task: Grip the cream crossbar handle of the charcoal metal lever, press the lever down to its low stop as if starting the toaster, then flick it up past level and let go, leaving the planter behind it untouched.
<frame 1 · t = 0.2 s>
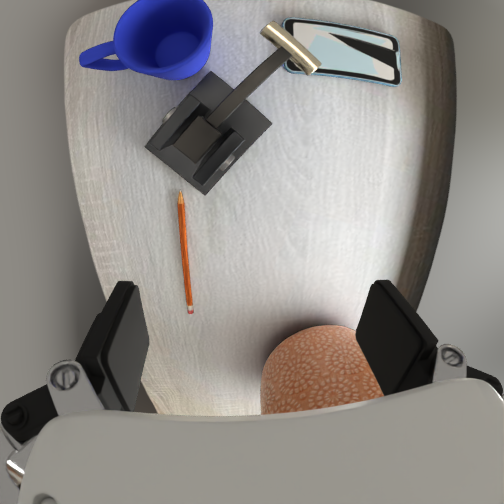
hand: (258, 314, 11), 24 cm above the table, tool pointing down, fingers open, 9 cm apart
smartphone: (344, 51, 25), on the table
pencil: (185, 255, 36), on the table
lever: (241, 92, 18), point 11 cm above the table, hinge at 0.0°
bracket: (207, 132, 29), on the table
planter: (311, 351, 46), on the table
mug: (163, 58, 25), on the table
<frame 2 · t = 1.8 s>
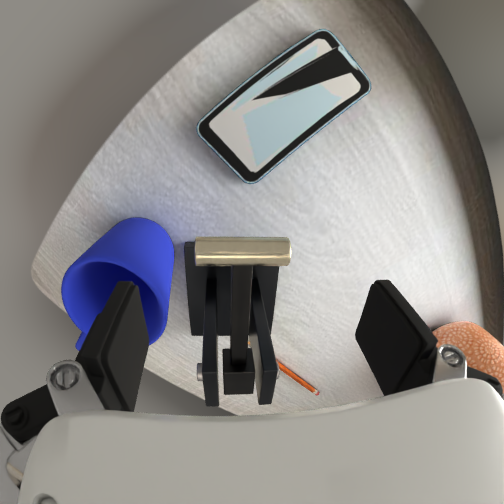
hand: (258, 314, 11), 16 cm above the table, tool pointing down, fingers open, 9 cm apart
smartphone: (286, 101, 22), on the table
pencil: (286, 368, 36), on the table
lever: (239, 326, 18), point 11 cm above the table, hinge at 0.0°
bracket: (231, 289, 29), on the table
planter: (430, 349, 40), on the table
mug: (133, 258, 27), on the table
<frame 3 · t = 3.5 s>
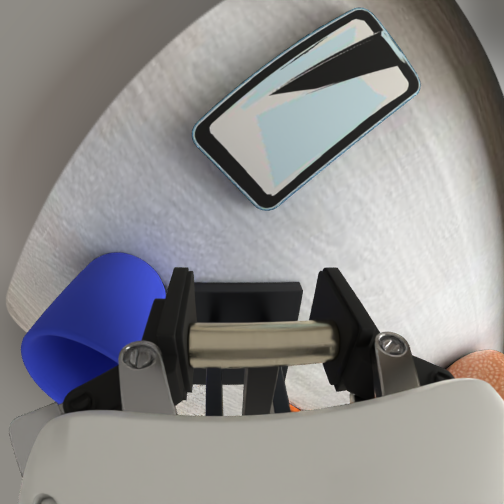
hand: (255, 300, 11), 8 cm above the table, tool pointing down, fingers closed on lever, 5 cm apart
smartphone: (314, 99, 16), on the table
lever: (254, 419, 12), point 11 cm above the table, hinge at 0.0°, touching gripper
bracket: (238, 336, 23), on the table
planter: (450, 377, 34), on the table
mug: (117, 299, 21), on the table
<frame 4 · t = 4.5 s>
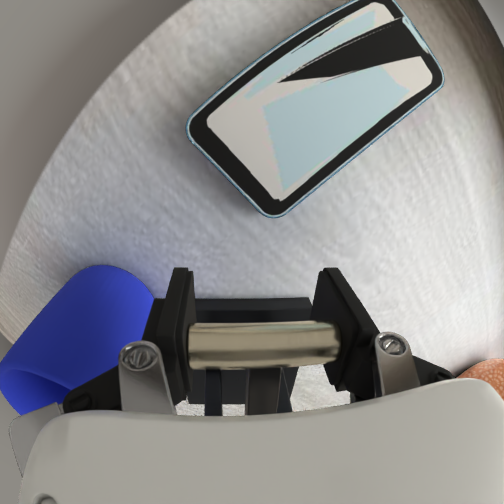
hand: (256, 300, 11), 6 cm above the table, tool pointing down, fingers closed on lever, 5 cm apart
smartphone: (329, 89, 13), on the table
lever: (257, 443, 10), point 10 cm above the table, hinge at -14.5°, touching gripper
bracket: (240, 355, 21), on the table
planter: (458, 386, 31), on the table
mug: (105, 314, 18), on the table
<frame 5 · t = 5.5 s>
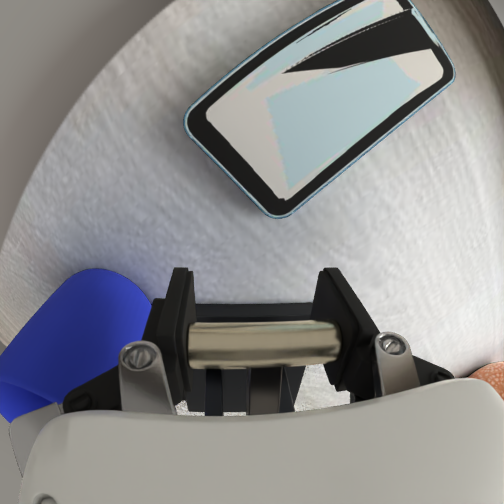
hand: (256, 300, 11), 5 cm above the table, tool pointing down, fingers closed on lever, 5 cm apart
smartphone: (337, 82, 12), on the table
lever: (259, 452, 10), point 9 cm above the table, hinge at -20.6°, touching gripper
bracket: (242, 362, 20), on the table
planter: (463, 390, 30), on the table
mug: (101, 320, 17), on the table
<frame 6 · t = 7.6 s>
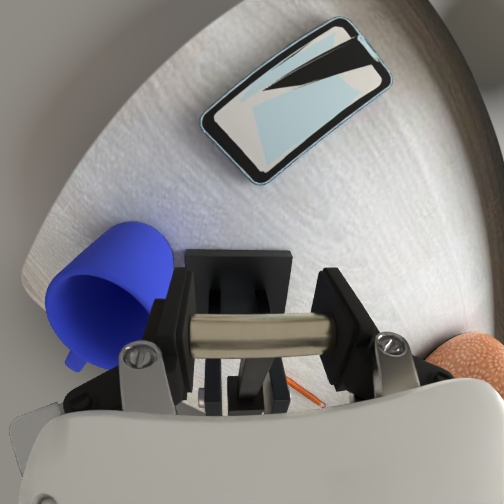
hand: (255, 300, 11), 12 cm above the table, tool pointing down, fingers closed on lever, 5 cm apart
smartphone: (300, 94, 19), on the table
pencil: (292, 382, 34), on the table
lever: (250, 378, 13), point 13 cm above the table, hinge at 21.4°, touching gripper
bracket: (236, 301, 27), on the table
planter: (441, 360, 37), on the table
mug: (128, 266, 24), on the table
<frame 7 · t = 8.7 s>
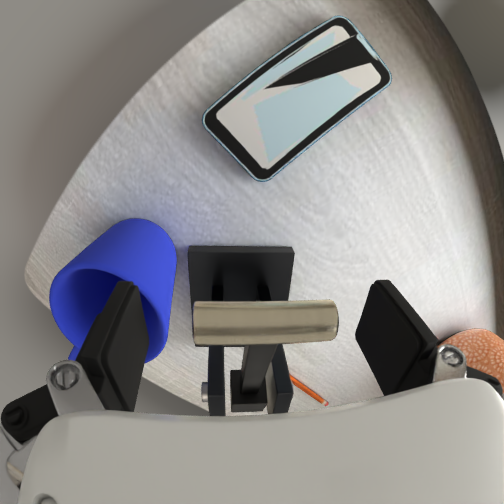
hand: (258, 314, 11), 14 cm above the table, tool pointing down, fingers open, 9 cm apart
smartphone: (301, 92, 19), on the table
pencil: (295, 379, 34), on the table
lever: (253, 370, 14), point 13 cm above the table, hinge at 21.0°
bracket: (239, 298, 27), on the table
planter: (443, 357, 37), on the table
mug: (131, 263, 25), on the table
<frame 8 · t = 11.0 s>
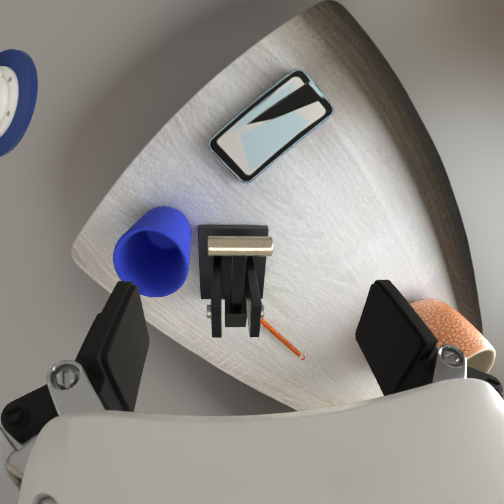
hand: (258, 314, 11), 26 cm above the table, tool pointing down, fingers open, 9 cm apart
smartphone: (271, 124, 32), on the table
pencil: (276, 332, 47), on the table
lever: (237, 285, 26), point 13 cm above the table, hinge at 21.0°
bracket: (232, 262, 39), on the table
planter: (405, 325, 50), on the table
mug: (158, 237, 37), on the table
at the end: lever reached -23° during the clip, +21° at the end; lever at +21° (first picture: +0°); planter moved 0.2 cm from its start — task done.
